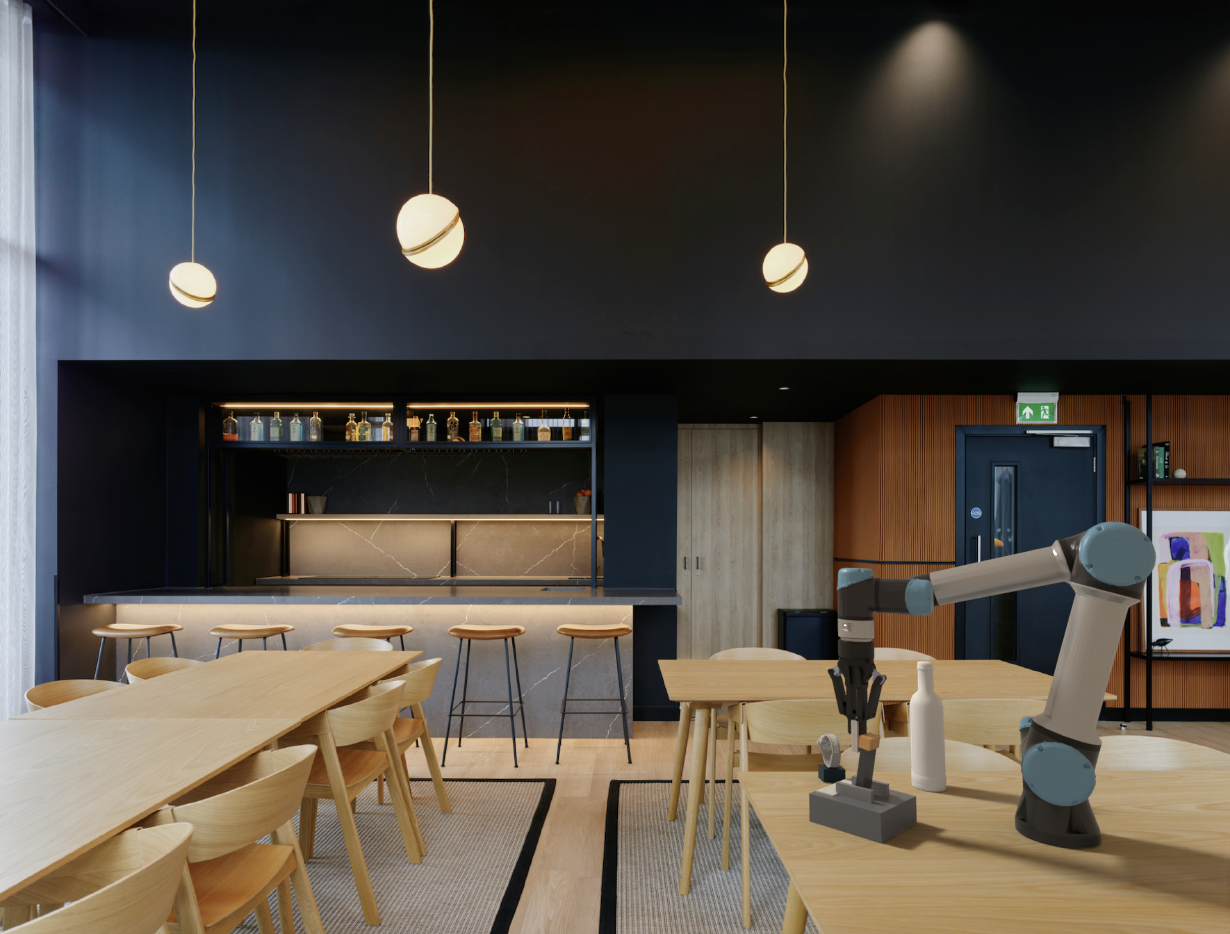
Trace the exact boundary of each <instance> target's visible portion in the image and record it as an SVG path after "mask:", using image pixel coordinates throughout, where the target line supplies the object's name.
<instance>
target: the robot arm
mask: <svg viewBox="0 0 1230 934" xmlns="http://www.w3.org/2000/svg"><path fill="white" fill-rule="evenodd" d="M1156 553H1157V552H1156V549H1155V546H1154V544H1153V541H1152V540H1151V539H1150V537H1149V536H1147V534H1146V533H1145V532H1144V531H1142V530H1141V529H1140V528H1138V527H1136V526H1134V525H1131V524H1129V523H1125V522H1120V521H1113V520H1112V521H1106V522H1105V521H1104V522H1100V523H1097V524H1095V525H1093V526H1092V527H1090V528H1088V529H1087V530H1084V531H1082V532H1080V533H1078V534H1074V535H1072V536H1067V537H1065V538H1061V539H1057V540H1055V541H1054V542H1053V543H1052V545H1051V546H1047V547H1042V548H1037V549H1032V550H1028V551H1025V552H1019V553H1015V554H1010V555H1006V556H1002V557H996V558H992V559H988V560H986V559H985V560H982V561H978V562H973V563H968V564H965V565H960V566H955V567H954V566H953V567H950V568H947V569H942V570H935V571H933V572H932V571H931V572H929V573H923V574H918V575H914V576H908V577H904V578H903V577H902V578H884V577H883V578H881V577H875V575H874V571H873V569H871V568H859V567H858V568H857V567H854V568H853V567H843V568H840V569H839V570H838V572H837V573H838V574H837V587H836V590H837V591H836V592H837V632H838V634H837V635H838V637H839V638H840V639H838V641H837V644H838V645H837V650H838V651H837V653H838V660H837V664H836V665H835V666H834V667H832V668H828V669H827V674H828V675H829V677H830V679H831V682H832V687H833V691H834V695H835V701H836V705H837V709H838V713H839V714H840V715H842V716H844V717H846V718H847V733H848V735H850V736H851V737H850V739H851V742H850V743H851V750H850V751H851V752H853V753H860V747H858V746H859V739H860V735H863V734H867V733H868V724H867V722H868V720H872V719H874V718H876V715H877V712H878V707H879V702H880V698H881V693H882V688H883V685H884V684H885V682H886V681H887V680H888V676H886V675H885V674H881V673H880V672H879V671H878V670H877V666H876V664H875V642H874V641H873V639H874V638H875V623H874V622H875V616H874V615H875V613H878V614H891V615H892V614H893V615H906V616H907V615H908V616H914V617H917V616H930V615H932V614H933V612H934V607H939V606H944V605H948V604H949V605H950V604H955V603H959V602H965V601H971V600H975V599H981V598H985V597H991V596H996V595H1001V594H1005V593H1006V594H1007V593H1011V592H1017V591H1022V590H1027V589H1032V588H1037V587H1041V586H1048V585H1052V584H1057V583H1063V582H1065V583H1067V584H1069V585H1070V587H1071V588H1072V590H1073V591H1074V593H1075V596H1074V599H1073V603H1072V607H1071V611H1070V613H1069V617H1068V621H1067V625H1066V629H1065V632H1064V637H1063V640H1062V643H1061V646H1060V650H1059V654H1058V657H1057V662H1056V665H1055V666H1056V667H1055V669H1054V673H1053V677H1052V680H1051V684H1050V688H1049V691H1048V695H1047V699H1046V703H1045V706H1044V711H1043V712H1041V713H1040V714H1037V715H1034V716H1022V718H1021V719H1020V722H1019V723H1020V724H1019V725H1020V726H1019V727H1018V730H1019V732H1020V753H1021V756H1020V757H1021V760H1020V761H1021V762H1020V768H1021V769H1020V771H1021V776H1022V792H1021V795H1020V798H1019V801H1018V805H1017V808H1016V810H1015V814H1014V827H1015V830H1016V831H1017V832H1018V833H1020V834H1022V835H1023V836H1025V837H1027V838H1030V839H1033V840H1034V841H1037V842H1040V843H1044V844H1048V845H1053V846H1057V847H1064V848H1071V849H1072V848H1073V849H1090V848H1091V849H1092V848H1095V847H1098V846H1100V845H1101V843H1102V837H1101V835H1102V834H1101V833H1102V832H1101V829H1100V826H1099V824H1098V821H1097V819H1096V816H1095V813H1094V811H1093V808H1092V806H1091V803H1090V800H1089V799H1090V797H1091V795H1092V794H1093V793H1094V789H1095V787H1096V783H1097V780H1096V778H1097V775H1096V772H1095V771H1096V767H1097V765H1098V764H1097V763H1098V759H1099V756H1100V752H1101V749H1102V746H1103V745H1102V744H1103V741H1102V740H1101V738H1100V736H1099V735H1098V733H1097V731H1096V730H1097V729H1096V728H1097V725H1098V721H1099V717H1100V714H1101V710H1102V706H1103V703H1104V699H1105V695H1106V692H1107V687H1108V684H1109V680H1110V676H1111V672H1112V670H1113V666H1114V662H1115V658H1116V654H1117V652H1118V648H1119V643H1120V641H1121V640H1120V639H1121V636H1122V632H1123V629H1124V626H1125V621H1126V618H1127V614H1128V610H1129V608H1130V607H1132V606H1134V605H1136V604H1138V603H1140V602H1141V601H1142V600H1141V599H1142V598H1143V597H1142V596H1143V594H1144V589H1145V585H1146V582H1147V579H1148V577H1149V576H1150V575H1151V574H1152V571H1154V568H1155V566H1156V561H1157V554H1156ZM843 678H844V681H843ZM871 678H872V679H871ZM870 680H872V683H871V686H870V691H869V696H868V688H869V681H870Z"/></svg>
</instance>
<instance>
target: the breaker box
mask: <svg viewBox="0 0 1230 934" xmlns="http://www.w3.org/2000/svg"><path fill="white" fill-rule="evenodd" d="M856 778H857V774H856V775H855V774H854V775H851V779H849V778H846V779H844V780H842V781H838V782H836V783H832V784H829V785H826V786H824V787H822V788H819V789H817V790H815V791H814V790H813V791H811V792H810V793H808V803H809V806H808V807H809V809H808V810H809V811H808V812H809V818H808V819H809V822H811V823H815V824H818V825H820V826H825V827H827V828H828V827H829V828H831V829H835V830H837V831H840V832H844V833H847V834H851V835H854V836H857V837H859V838H860V837H861V838H863V839H866V840H869V841H873V842H875V843H876V842H877V843H879V844H883V843H885V842H886V841H888V840H890V839H893V837H896V836H897V835H899V834H901V833H902V832H904V831H906V830H908V829H910V828H912V827H913V826H915V825H917V824H918V813H917V812H918V811H917V795H913V794H910V793H906V792H902V791H897V790H894V789H890V783H887V782H884V781H880V780H876V779H872V786H871V788H869V789H867V788H863V787H859V786H855V785H856Z"/></svg>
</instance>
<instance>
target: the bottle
mask: <svg viewBox="0 0 1230 934" xmlns="http://www.w3.org/2000/svg"><path fill="white" fill-rule="evenodd" d="M916 663H917V666H916V670H917V691H915V692H914V693H913V694H912V696H911V698H910V702H909V721H910V722H909V728H910V729H909V730H910V764H911V766H910V768H911V770H910V780H911V785H912V787H914V788H915V789H917V790H920V791H925V792H930V793H931V792H932V793H941V792H944V791H946V790H947V774H946V770H947V769H946V748H945V747H946V746H945V744H946V743H945V741H946V740H945V718H944V717H945V716H944V703H943V701H942V699H941V697H940V696H939V694H937V692H935V690H934V686H935V685H934V683H935V682H934V670H935V668H934V663H933V662H931V661H927V660H926V661H925V660H924V661H923V660H921V661H920V660H918V661H917V662H916Z"/></svg>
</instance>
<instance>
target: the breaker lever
mask: <svg viewBox="0 0 1230 934" xmlns="http://www.w3.org/2000/svg"><path fill="white" fill-rule="evenodd" d="M880 742H881V736H880V735H877V734H876V733H872V732H867V734H863V735H860V739H859V746H858V747H860V752H859V757H858V763H857V770H856V771H857V772H856V776H857V778H856V785H855V786H859V787H863V788H867V789H869V788H871V786H872V780H873V778H874V777H873V775H874V769H875V762H876V755H877V749H879V748H880Z"/></svg>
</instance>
